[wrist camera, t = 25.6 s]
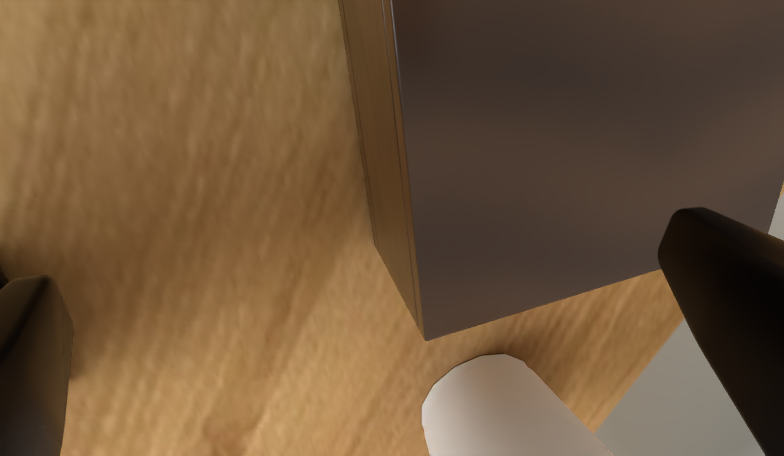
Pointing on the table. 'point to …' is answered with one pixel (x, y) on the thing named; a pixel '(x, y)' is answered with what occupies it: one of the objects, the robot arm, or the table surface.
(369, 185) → the cabinet
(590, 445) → the foam cup
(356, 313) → the table surface
